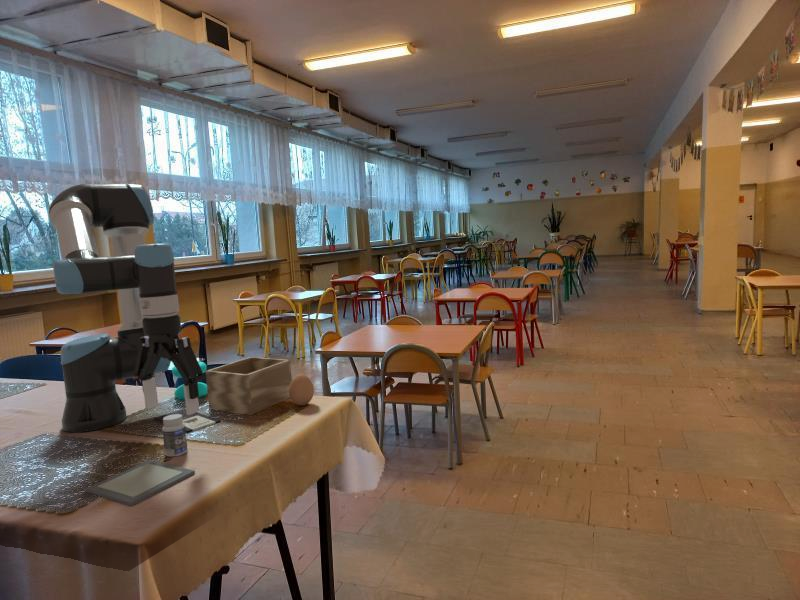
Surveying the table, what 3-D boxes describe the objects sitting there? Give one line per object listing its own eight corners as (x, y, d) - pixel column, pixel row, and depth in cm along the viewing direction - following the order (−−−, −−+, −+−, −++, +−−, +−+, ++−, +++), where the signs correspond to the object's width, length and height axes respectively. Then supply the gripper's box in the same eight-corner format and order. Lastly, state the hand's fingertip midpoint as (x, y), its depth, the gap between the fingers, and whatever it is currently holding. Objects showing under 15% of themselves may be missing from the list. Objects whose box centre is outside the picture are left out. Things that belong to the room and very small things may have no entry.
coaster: (85, 491, 103) (85, 488, 103) (149, 462, 115) (149, 459, 115) (131, 505, 96) (131, 502, 96) (194, 473, 108) (194, 470, 108)
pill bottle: (179, 457, 117) (175, 420, 116) (160, 456, 118) (156, 420, 117) (192, 448, 121) (188, 413, 120) (173, 448, 122) (169, 413, 121)
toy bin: (209, 409, 150) (205, 371, 149) (254, 391, 165) (250, 356, 164) (250, 415, 142) (246, 375, 141) (293, 396, 158) (290, 359, 156)
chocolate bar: (185, 408, 150) (220, 420, 139) (185, 411, 150) (220, 423, 139) (153, 417, 144) (187, 430, 132) (154, 421, 144) (187, 434, 132)
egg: (303, 410, 144) (300, 378, 143) (285, 407, 148) (282, 375, 147) (319, 403, 150) (317, 372, 149) (301, 400, 153) (299, 369, 152)
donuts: (164, 368, 160) (184, 360, 169) (167, 400, 161) (188, 390, 171) (193, 368, 157) (212, 360, 167) (197, 401, 159) (215, 391, 168)
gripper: (109, 317, 118) (121, 409, 121) (185, 318, 106) (197, 421, 109) (139, 312, 125) (150, 400, 127) (215, 313, 113) (225, 410, 115)
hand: (172, 410), depth 118 cm, fingers open, 13 cm apart
